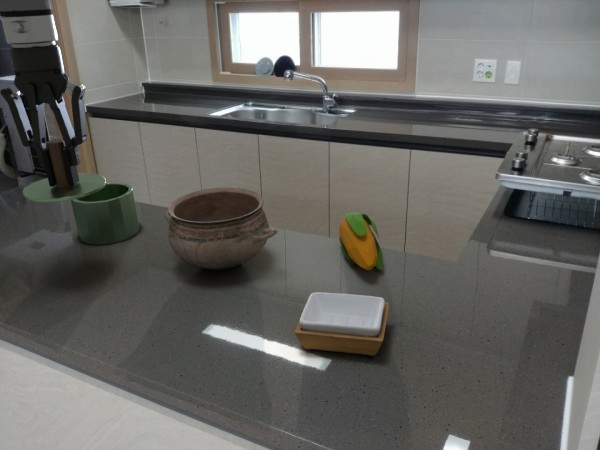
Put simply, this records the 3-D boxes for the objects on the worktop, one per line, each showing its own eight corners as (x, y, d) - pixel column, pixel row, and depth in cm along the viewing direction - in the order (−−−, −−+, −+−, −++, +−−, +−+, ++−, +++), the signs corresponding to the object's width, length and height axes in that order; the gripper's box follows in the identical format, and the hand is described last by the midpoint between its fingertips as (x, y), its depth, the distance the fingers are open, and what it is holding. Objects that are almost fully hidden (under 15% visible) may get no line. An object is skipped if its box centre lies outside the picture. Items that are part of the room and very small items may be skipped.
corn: (369, 201, 109) (392, 242, 91) (371, 234, 112) (394, 281, 94) (333, 205, 109) (349, 248, 91) (336, 239, 112) (352, 287, 94)
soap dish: (388, 323, 83) (389, 295, 81) (382, 363, 74) (383, 332, 72) (309, 315, 85) (308, 288, 83) (295, 353, 77) (293, 323, 75)
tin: (67, 238, 117) (57, 198, 113) (110, 218, 127) (102, 180, 123) (109, 248, 112) (100, 206, 108) (151, 226, 122) (144, 186, 118)
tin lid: (6, 199, 93) (-8, 147, 90) (70, 175, 104) (60, 128, 101) (61, 210, 87) (48, 156, 84) (123, 184, 98) (114, 135, 95)
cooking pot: (302, 253, 106) (300, 195, 101) (250, 299, 91) (244, 234, 86) (201, 233, 117) (194, 180, 112) (139, 271, 102) (129, 211, 97)
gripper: (-29, 49, 82) (10, 192, 92) (75, 44, 82) (103, 188, 92) (-6, 44, 89) (28, 178, 98) (90, 40, 89) (115, 174, 99)
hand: (64, 183), depth 95 cm, fingers closed on tin lid, 3 cm apart
